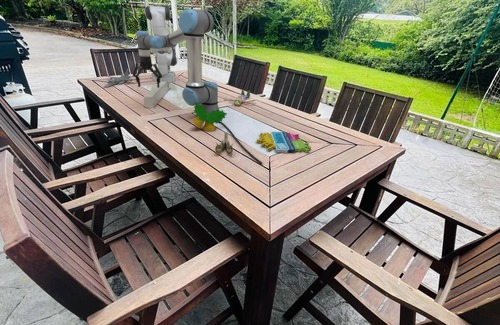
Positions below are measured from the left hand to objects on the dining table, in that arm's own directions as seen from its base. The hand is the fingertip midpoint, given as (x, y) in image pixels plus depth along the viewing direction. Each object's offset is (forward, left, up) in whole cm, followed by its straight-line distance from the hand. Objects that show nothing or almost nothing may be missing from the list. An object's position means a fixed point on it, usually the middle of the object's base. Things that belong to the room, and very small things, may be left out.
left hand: (164, 86), depth 237 cm
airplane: (-27, -41, -3) cm, 49 cm away
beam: (+23, -5, -3) cm, 24 cm away
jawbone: (+129, +31, -3) cm, 133 cm away
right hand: (+46, -10, +11) cm, 48 cm away
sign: (+124, +66, -3) cm, 140 cm away
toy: (+40, +62, -3) cm, 74 cm away
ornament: (+97, +27, -3) cm, 101 cm away
